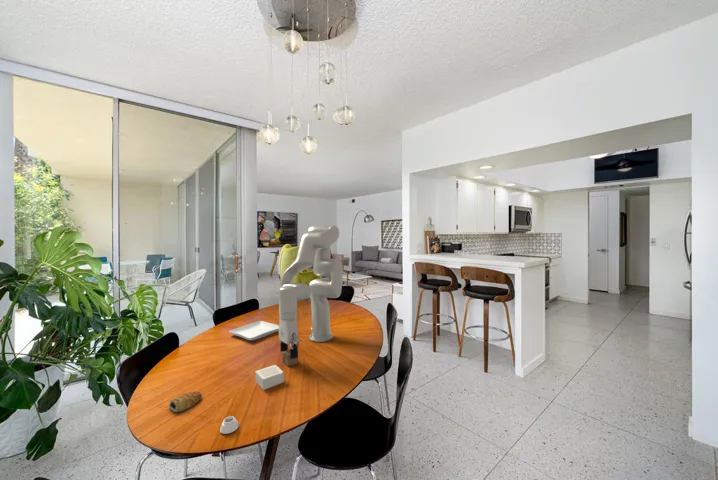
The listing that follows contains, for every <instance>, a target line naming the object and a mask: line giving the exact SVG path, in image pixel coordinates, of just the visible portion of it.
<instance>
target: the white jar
mask: <svg viewBox="0 0 718 480" xmlns="http://www.w3.org/2000/svg"><path fill="white" fill-rule="evenodd" d="M239 425H240V424H239V422H238V420H237V418H235V416H233V415H232V416H231V415H230V416H226V417H225V418H224V419H223V421H222V423H221V426H220V428H219V432H220V433H221V434H223V435H227V434H230V433H231V434H232V433H233V432H235V431H237V429H238V428H239Z"/></svg>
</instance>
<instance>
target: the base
mask: <svg viewBox="0 0 718 480" xmlns="http://www.w3.org/2000/svg"><path fill="white" fill-rule="evenodd" d="M254 375H255V383H256V384H257V385H258V386H259V388H261V390H263V391H265V390H267V389H270V388H273V387H275V386H278V385H280V384H282V383H283V384H284V382H285V376H284V371H283V370H282V369H281V368H280V367H278V366H277V365H276V364H273V365H270V366H267V367H263V368H261V369H258V370H255V372H254Z"/></svg>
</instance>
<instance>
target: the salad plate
mask: <svg viewBox="0 0 718 480" xmlns="http://www.w3.org/2000/svg"><path fill="white" fill-rule="evenodd" d="M228 332H229V334H232V335H234V336H237V337H239V338H242V339H244V340H248V341H256V340H259V339H262V338H265V337H267V336H270V335H271V334H275V333H277V332H279V324H275V323H272V322H267V321H263V320H259V321H256V322H252V323H248V324H247V325H243V326H242V325H241V326H240V327H237V328H233V329H231V330H229V331H228Z"/></svg>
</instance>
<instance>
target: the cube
mask: <svg viewBox="0 0 718 480" xmlns="http://www.w3.org/2000/svg"><path fill="white" fill-rule="evenodd" d="M290 349H291V348H290ZM290 349H289V348H288V350H286V351H283V352H282V353H281V354H282V363H283V364H284V366H286V367H291V366H294V365H296V364H297V365H298V364H299V356H298V357H296V358H293V359H291V358H290Z"/></svg>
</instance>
